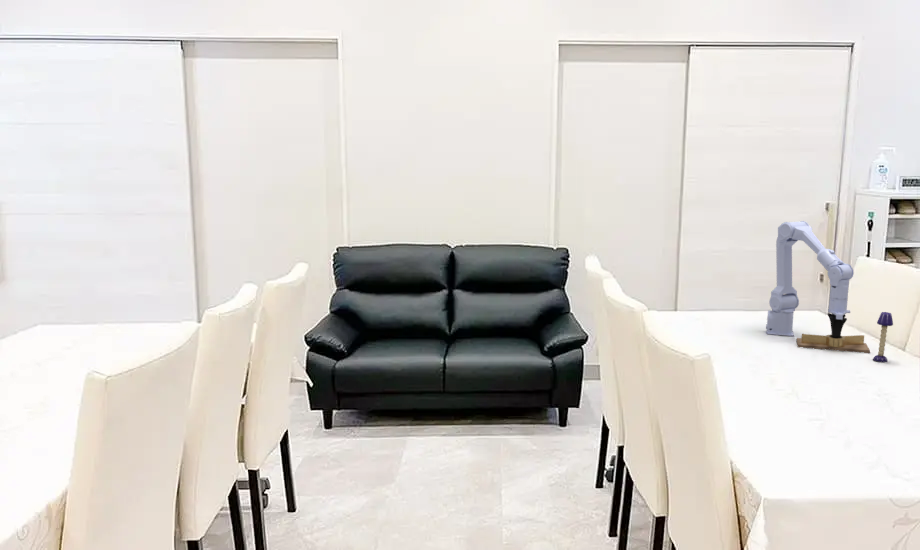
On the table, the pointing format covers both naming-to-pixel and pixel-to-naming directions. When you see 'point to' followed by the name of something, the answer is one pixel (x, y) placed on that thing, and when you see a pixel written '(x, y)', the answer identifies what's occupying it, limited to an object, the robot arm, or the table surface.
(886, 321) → the toy lamp
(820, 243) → the robot arm
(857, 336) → the hinge
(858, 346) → the board
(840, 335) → the pin
